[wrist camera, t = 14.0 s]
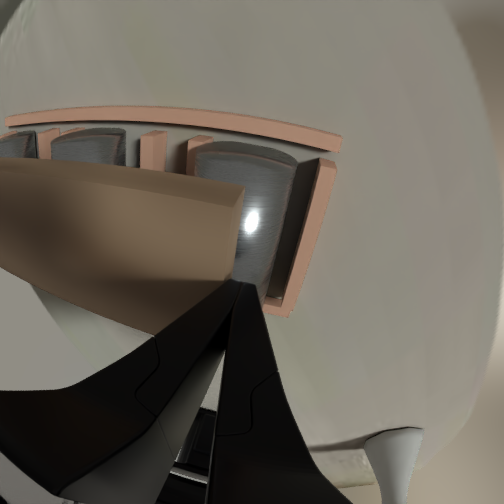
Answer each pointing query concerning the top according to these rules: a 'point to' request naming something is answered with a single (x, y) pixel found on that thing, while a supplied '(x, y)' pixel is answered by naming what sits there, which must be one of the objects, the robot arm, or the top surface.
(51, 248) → the walnut board
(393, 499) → the flask
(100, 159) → the middle roller
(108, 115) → the roller track
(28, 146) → the roller
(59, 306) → the top surface
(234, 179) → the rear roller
